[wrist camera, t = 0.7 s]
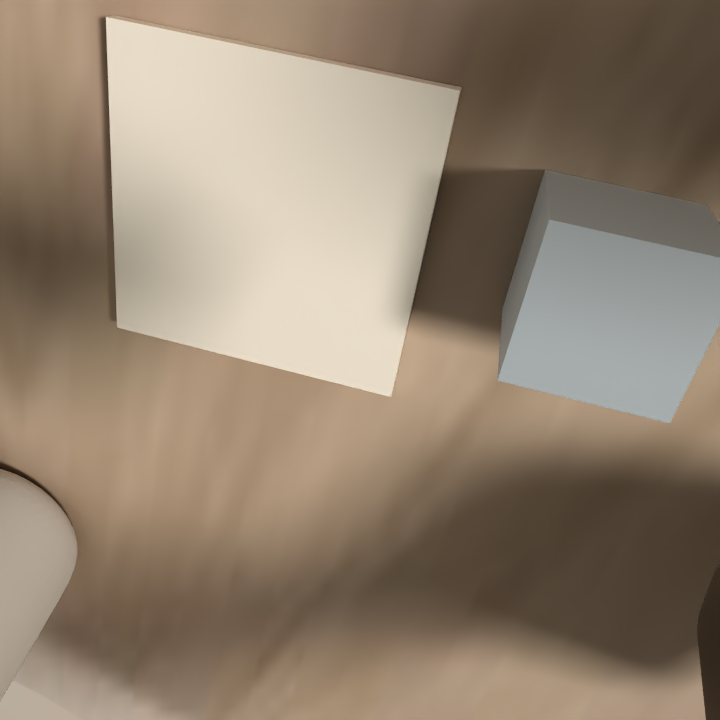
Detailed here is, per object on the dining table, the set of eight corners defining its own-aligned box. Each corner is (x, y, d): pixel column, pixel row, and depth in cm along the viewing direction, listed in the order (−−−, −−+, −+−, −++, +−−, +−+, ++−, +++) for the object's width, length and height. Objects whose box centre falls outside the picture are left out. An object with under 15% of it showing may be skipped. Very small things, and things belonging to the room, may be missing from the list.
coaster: (461, 86, 17) (460, 90, 16) (393, 388, 21) (391, 397, 21) (116, 15, 17) (105, 16, 17) (124, 320, 22) (117, 327, 22)
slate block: (705, 203, 17) (749, 264, 13) (644, 340, 19) (669, 423, 16) (545, 168, 17) (549, 219, 14) (502, 307, 19) (497, 380, 16)
